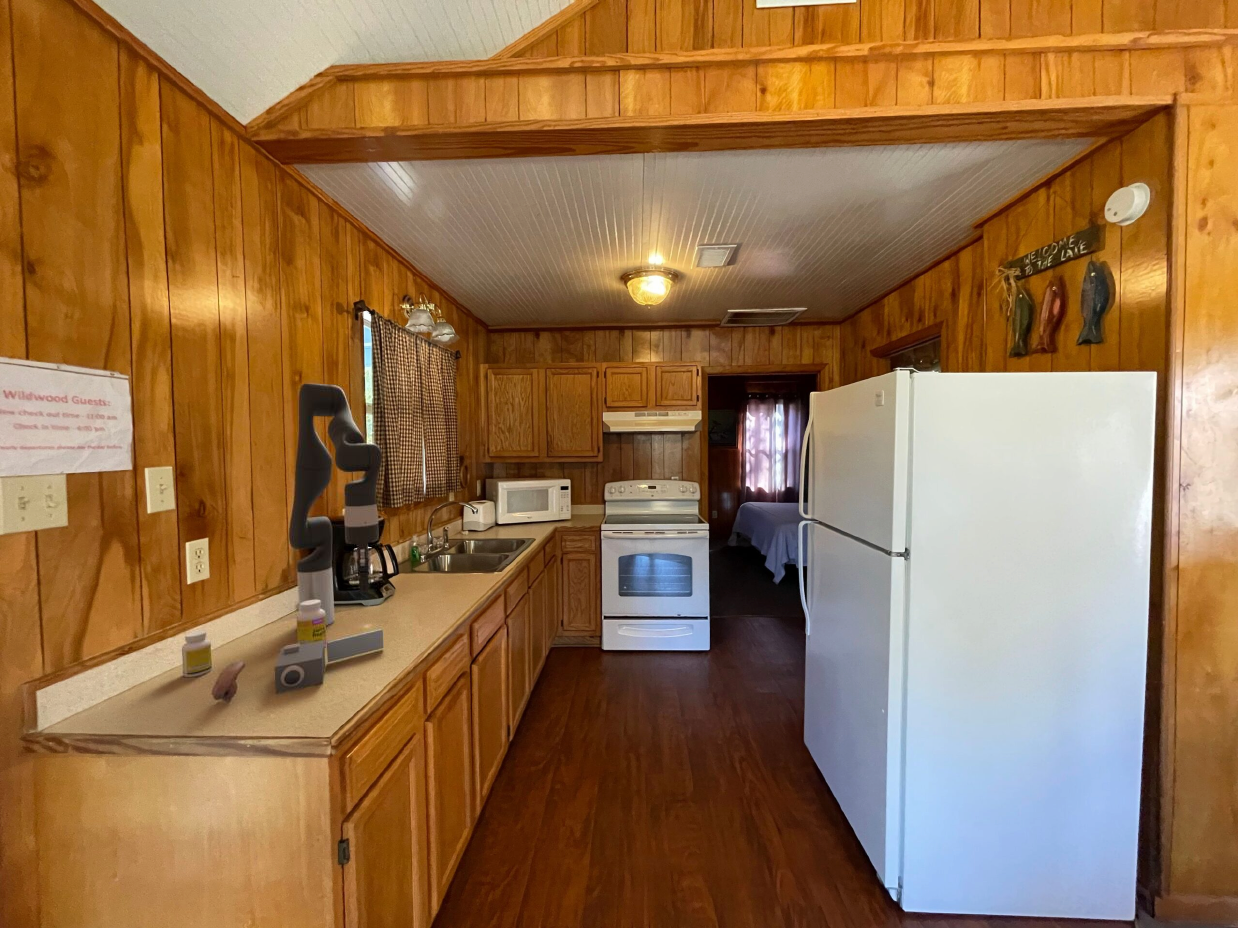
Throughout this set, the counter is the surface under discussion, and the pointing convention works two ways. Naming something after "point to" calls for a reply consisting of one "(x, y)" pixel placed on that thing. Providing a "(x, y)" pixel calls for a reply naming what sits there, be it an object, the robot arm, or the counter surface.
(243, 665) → the mushroom
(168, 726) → the counter surface
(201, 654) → the supplement bottle
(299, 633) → the supplement bottle
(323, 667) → the camera box
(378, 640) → the door
